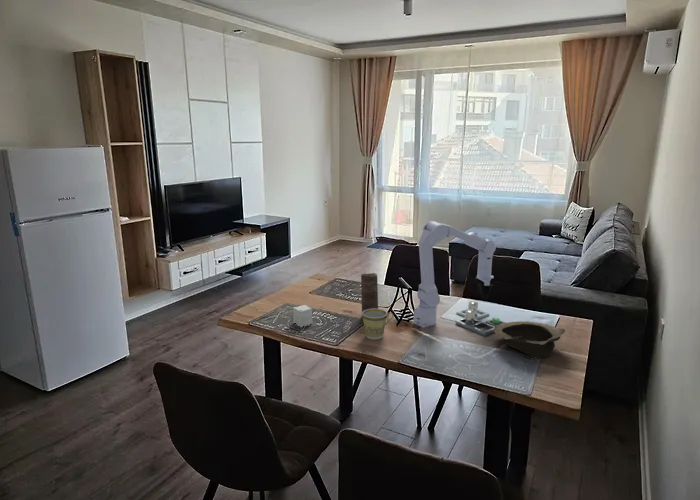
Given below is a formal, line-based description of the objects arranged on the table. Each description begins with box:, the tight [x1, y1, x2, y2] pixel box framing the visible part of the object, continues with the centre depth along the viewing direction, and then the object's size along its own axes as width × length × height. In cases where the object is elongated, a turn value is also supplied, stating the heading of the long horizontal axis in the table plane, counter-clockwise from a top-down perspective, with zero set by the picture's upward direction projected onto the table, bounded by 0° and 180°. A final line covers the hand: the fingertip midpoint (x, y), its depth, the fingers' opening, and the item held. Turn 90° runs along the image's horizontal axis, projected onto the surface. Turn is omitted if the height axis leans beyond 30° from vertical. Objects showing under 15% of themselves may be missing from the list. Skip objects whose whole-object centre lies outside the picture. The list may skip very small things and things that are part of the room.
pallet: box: [455, 317, 495, 337], centre depth 189 cm, size 8×15×2 cm, turn 36°
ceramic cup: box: [361, 308, 394, 341], centre depth 184 cm, size 13×10×10 cm
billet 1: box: [467, 300, 479, 317], centre depth 202 cm, size 4×4×6 cm
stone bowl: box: [493, 320, 566, 359], centre depth 172 cm, size 25×25×9 cm
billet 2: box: [464, 310, 476, 325], centre depth 191 cm, size 4×4×6 cm
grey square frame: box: [456, 307, 490, 320], centre depth 203 cm, size 10×10×2 cm
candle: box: [360, 272, 379, 313], centre depth 202 cm, size 8×7×20 cm
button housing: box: [484, 319, 507, 326], centre depth 192 cm, size 6×6×2 cm
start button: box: [491, 317, 501, 325], centre depth 192 cm, size 3×3×2 cm
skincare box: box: [292, 304, 314, 328], centre depth 196 cm, size 6×6×7 cm
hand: (482, 296), depth 200 cm, fingers open, 7 cm apart
